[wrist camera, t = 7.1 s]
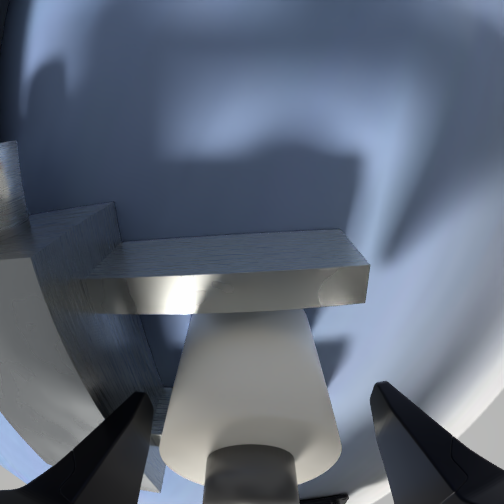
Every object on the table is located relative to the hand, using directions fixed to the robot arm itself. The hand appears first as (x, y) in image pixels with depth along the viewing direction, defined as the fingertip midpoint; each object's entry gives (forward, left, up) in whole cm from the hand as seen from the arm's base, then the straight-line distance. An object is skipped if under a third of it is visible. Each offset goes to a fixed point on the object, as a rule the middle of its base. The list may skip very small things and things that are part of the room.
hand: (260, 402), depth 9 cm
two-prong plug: (+2, +4, -3) cm, 6 cm away
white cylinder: (0, 0, -4) cm, 4 cm away
